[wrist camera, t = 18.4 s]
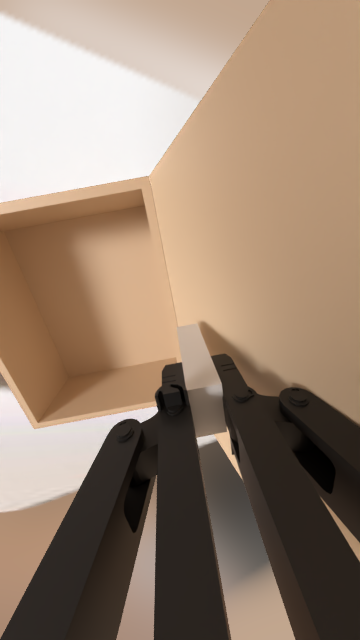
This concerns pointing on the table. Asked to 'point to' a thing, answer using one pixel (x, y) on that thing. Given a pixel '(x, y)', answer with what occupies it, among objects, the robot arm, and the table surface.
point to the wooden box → (84, 302)
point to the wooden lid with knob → (274, 208)
